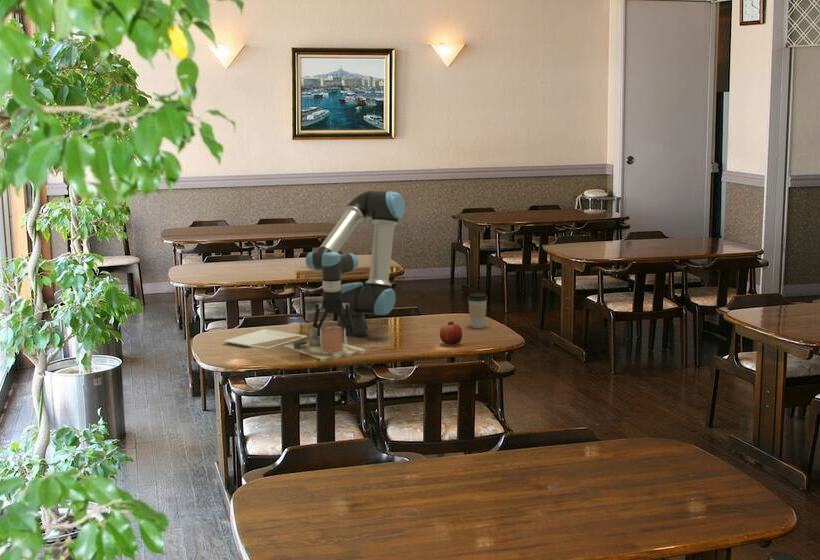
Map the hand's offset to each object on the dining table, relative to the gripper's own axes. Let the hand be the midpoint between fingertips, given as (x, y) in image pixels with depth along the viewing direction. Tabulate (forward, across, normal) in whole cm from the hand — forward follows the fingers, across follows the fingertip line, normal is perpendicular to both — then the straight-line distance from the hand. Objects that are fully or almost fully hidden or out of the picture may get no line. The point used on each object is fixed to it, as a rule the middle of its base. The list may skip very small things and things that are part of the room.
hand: (333, 343), depth 405 cm
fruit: (+5, +47, +18) cm, 51 cm away
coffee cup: (+5, +57, +52) cm, 77 cm away
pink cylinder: (+3, 0, 0) cm, 3 cm away
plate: (+5, -34, +20) cm, 40 cm away
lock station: (+4, -6, +6) cm, 9 cm away
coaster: (+3, 0, 0) cm, 3 cm away
